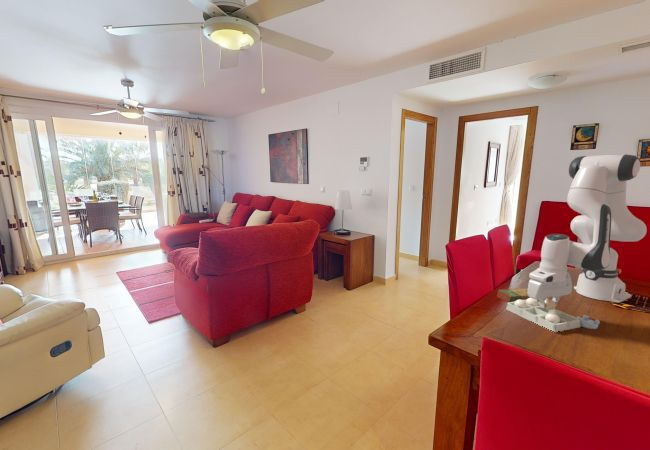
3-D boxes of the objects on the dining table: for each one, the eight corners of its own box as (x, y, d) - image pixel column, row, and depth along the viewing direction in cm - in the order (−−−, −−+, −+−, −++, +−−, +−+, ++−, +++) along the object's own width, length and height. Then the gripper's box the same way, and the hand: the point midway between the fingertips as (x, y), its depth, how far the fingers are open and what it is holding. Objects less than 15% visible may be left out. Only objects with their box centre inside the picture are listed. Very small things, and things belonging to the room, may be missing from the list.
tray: (529, 305, 131) (530, 298, 130) (580, 327, 111) (581, 319, 111) (506, 309, 127) (506, 302, 126) (554, 332, 107) (555, 325, 107)
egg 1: (519, 307, 127) (520, 297, 126) (529, 311, 123) (530, 301, 122) (511, 308, 126) (512, 298, 125) (521, 313, 121) (522, 302, 121)
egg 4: (550, 321, 115) (551, 310, 114) (562, 326, 110) (563, 315, 110) (541, 322, 113) (542, 311, 113) (553, 328, 109) (555, 317, 108)
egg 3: (546, 306, 122) (547, 296, 121) (557, 311, 118) (559, 300, 117) (538, 308, 121) (539, 297, 120) (549, 313, 117) (550, 302, 116)
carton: (541, 303, 134) (542, 294, 133) (509, 304, 132) (510, 296, 131) (527, 295, 142) (528, 287, 141) (496, 297, 140) (497, 289, 139)
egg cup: (583, 320, 116) (584, 314, 116) (601, 327, 111) (602, 321, 110) (573, 322, 115) (574, 316, 114) (590, 330, 109) (591, 323, 109)
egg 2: (530, 305, 129) (531, 295, 128) (540, 309, 125) (542, 299, 124) (522, 306, 128) (523, 296, 127) (532, 310, 123) (534, 300, 123)
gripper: (562, 269, 123) (558, 300, 125) (526, 274, 117) (522, 306, 119) (578, 274, 117) (574, 306, 119) (541, 279, 111) (537, 312, 113)
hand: (548, 306), depth 119 cm, fingers closed on egg 3, 5 cm apart
